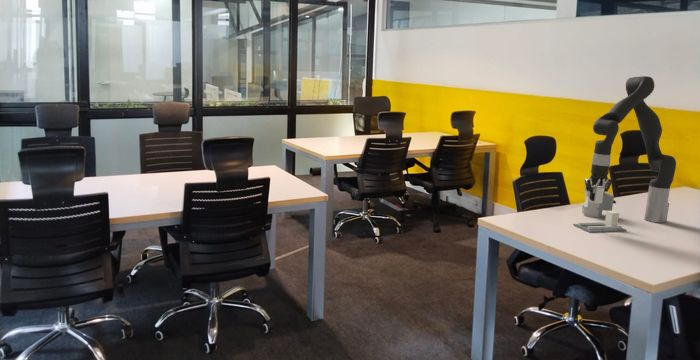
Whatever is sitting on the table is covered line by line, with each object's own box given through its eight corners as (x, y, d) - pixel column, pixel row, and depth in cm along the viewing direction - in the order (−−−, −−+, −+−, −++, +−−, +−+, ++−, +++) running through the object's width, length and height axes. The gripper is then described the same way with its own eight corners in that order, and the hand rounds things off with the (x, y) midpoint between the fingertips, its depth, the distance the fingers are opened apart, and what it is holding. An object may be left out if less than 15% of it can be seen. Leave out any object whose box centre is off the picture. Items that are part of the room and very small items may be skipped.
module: (594, 200, 284) (596, 185, 283) (602, 203, 279) (604, 188, 278) (588, 200, 283) (590, 185, 282) (595, 203, 278) (597, 188, 277)
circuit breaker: (614, 218, 305) (618, 189, 302) (584, 215, 307) (588, 186, 304) (611, 215, 312) (615, 186, 309) (581, 212, 314) (585, 183, 312)
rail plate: (609, 224, 293) (611, 208, 291) (626, 231, 282) (628, 215, 280) (573, 225, 287) (575, 209, 286) (589, 232, 276) (591, 216, 274)
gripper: (608, 162, 283) (603, 198, 286) (582, 162, 279) (577, 198, 282) (619, 165, 276) (614, 202, 279) (592, 165, 272) (587, 202, 275)
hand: (595, 200), depth 281 cm, fingers closed on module, 3 cm apart
